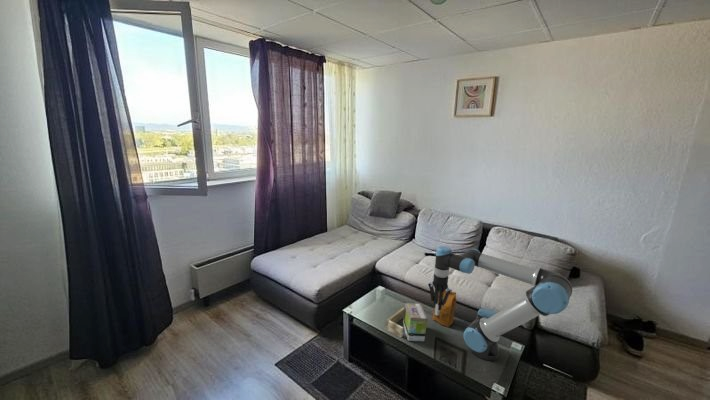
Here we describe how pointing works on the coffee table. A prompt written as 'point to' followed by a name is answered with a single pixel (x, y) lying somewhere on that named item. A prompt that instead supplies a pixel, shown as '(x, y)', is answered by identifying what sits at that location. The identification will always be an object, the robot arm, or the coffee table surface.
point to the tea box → (414, 322)
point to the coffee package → (446, 310)
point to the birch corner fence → (392, 322)
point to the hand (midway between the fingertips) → (436, 314)
